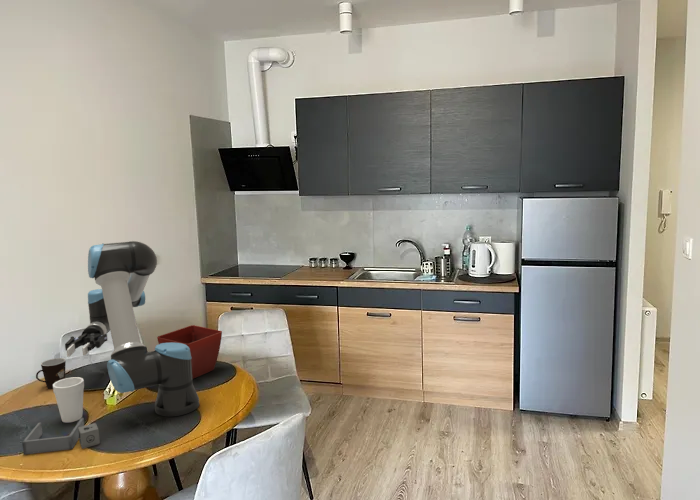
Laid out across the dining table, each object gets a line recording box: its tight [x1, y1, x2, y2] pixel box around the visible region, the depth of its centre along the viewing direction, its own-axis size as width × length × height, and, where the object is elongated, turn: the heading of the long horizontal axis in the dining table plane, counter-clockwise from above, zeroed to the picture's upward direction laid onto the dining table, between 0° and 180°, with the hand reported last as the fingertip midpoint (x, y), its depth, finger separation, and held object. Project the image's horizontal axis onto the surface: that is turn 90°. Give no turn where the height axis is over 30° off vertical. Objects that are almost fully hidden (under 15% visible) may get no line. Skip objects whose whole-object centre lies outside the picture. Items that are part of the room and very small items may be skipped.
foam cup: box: [52, 376, 85, 423], centre depth 182 cm, size 10×9×13 cm
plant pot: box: [156, 324, 223, 380], centre depth 222 cm, size 19×19×17 cm
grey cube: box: [78, 422, 101, 450], centre depth 166 cm, size 5×5×5 cm
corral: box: [21, 417, 85, 455], centre depth 167 cm, size 14×13×4 cm
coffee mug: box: [35, 357, 66, 390], centre depth 211 cm, size 12×9×10 cm
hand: (75, 352), depth 191 cm, fingers open, 4 cm apart
